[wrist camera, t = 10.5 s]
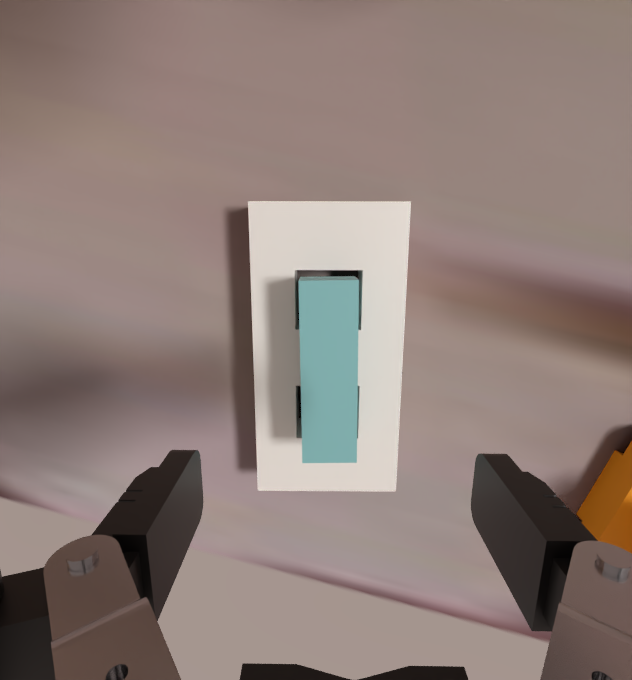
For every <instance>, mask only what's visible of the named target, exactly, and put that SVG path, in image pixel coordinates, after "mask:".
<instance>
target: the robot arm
mask: <svg viewBox="0 0 632 680" xmlns="http://www.w3.org/2000/svg"><path fill="white" fill-rule="evenodd" d="M202 509H203V488H202V474H201V460H200V454H199V451H198V450H171V451H170V452H169V453H168V455H167V456H166V458H165V459H164V461H163V462H162V463H161V465H160V466H159V467H151V468H149V469H148V470H146V471H145V472H143V473H142V474H140V475H139V476H137V477H136V478H135V479H134V480H133V482H132V483H131V484H130V486H129V487H128V488H127V489H126V492H124V493H123V495H122V496H121V497H120V499H119V501H118V502H117V503H116V504H115V505H114V506H113V508H112V509H111V510H110V512H109V513H108V514H107V516H106V517H105V518H104V519H103V521H102V522H101V523H100V525H99V526H98V527H97V529H96V530H95V531H94V533H93V534H92V535H91V536H87V537H83V538H80V539H77V540H75V541H72V542H70V543H68V544H66V545H65V546H63V547H62V548H60V549H59V550H57V551H56V552H55V553H54V554H53V555H52V556H51V557H50V558H49V559H48V561H47V563H46V564H45V567H44V568H40V569H36V570H31V571H27V572H22V573H18V574H13V575H8V576H4V577H2V576H1V571H0V680H181V678H180V676H179V673H178V671H177V668H176V666H175V664H174V661H173V659H172V656H171V654H170V652H169V649H168V647H167V644H166V642H165V639H164V637H163V634H162V632H161V629H160V627H159V624H158V622H157V621H158V618H159V616H160V613H161V611H162V609H163V606H164V604H165V602H166V600H167V597H168V595H169V592H170V590H171V588H172V585H173V583H174V581H175V578H176V576H177V574H178V571H179V569H180V567H181V564H182V562H183V559H184V557H185V555H186V552H187V550H188V548H189V545H190V543H191V541H192V538H193V536H194V534H195V531H196V529H197V527H198V524H199V522H200V519H201V515H202ZM471 511H472V517H473V521H474V523H475V526H476V528H477V529H478V531H479V533H480V535H481V537H482V539H483V541H484V543H485V544H486V546H487V548H488V550H489V552H490V554H491V556H492V558H493V559H494V561H495V563H496V565H497V567H498V569H499V571H500V572H501V574H502V576H503V578H504V580H505V582H506V584H507V586H508V587H509V589H510V591H511V593H512V595H513V597H514V599H515V600H516V602H517V604H518V606H519V608H520V610H521V612H522V614H523V615H524V617H525V619H526V621H527V623H528V625H529V627H530V628H531V630H532V631H552V634H551V638H550V642H549V647H548V651H547V655H546V659H545V663H544V667H543V671H542V675H541V680H632V554H631V553H630V552H628V551H626V550H624V549H622V548H620V547H617V546H615V545H612V544H609V543H605V542H600V541H598V540H597V539H596V538H595V537H594V536H593V535H592V534H591V533H590V532H589V531H588V529H587V528H586V527H585V526H584V525H583V524H582V523H581V522H580V521H579V520H578V518H577V517H576V516H575V515H574V514H573V513H572V512H571V511H570V510H569V509H568V508H566V505H565V504H564V503H563V502H562V501H561V500H560V499H559V498H557V497H556V494H555V493H554V492H553V491H552V490H551V489H550V488H549V487H548V486H547V484H546V483H545V482H543V481H541V480H540V479H538V478H537V477H535V476H533V475H532V474H530V473H529V472H522V471H521V470H520V468H519V467H518V466H517V465H516V464H515V463H514V461H513V460H512V459H511V458H510V457H509V456H508V455H507V454H478V456H477V458H476V462H475V470H474V479H473V489H472V498H471ZM240 680H350V679H346V678H342V677H339V676H335V675H332V674H328V673H325V672H322V671H318V670H314V669H311V668H308V667H304V666H301V665H297V664H243V665H242V670H241V676H240ZM359 680H468V677H467V675H466V671H465V668H464V667H445V666H443V667H442V666H408V667H404V668H400V669H396V670H393V671H389V672H385V673H382V674H378V675H374V676H371V677H367V678H363V679H359Z"/></svg>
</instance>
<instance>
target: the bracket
mask: <svg viewBox="0 0 632 680" xmlns="http://www.w3.org/2000/svg"><path fill="white" fill-rule="evenodd" d="M576 514H577V515H578V517H579V518H580V519H581V520H582V524H583V525H584V526H585V527H586V528H587V529H588V531H589V532H590V533H591V534H592V535H593V536H594V537H595V538H596V539H597V540H598V541H600V542H605V543H609V544H612V545H615V546H617V547H620V548H622V549H624V550H626V551H628V552H630V553H631V554H632V441H631V443H630V444H629V446H628V447H627V449H626V451H625V452H624V453H621V452H619V451H616V450H615V451H614V453H613V454H612V456H611V458H610V459H609V461H608V462H607V464H606V466H605V467H604V469H603V471H602V472H601V474H600V476H599V477H598V479H597V481H596V482H595V484H594V485H593V487H592V489H591V490H590V492H589V494H588V495H587V497H586V499H585V500H584V502H583V504H582V505H581V507H580V509H579V510H578V512H577V513H576Z"/></svg>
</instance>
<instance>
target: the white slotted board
mask: <svg viewBox="0 0 632 680" xmlns="http://www.w3.org/2000/svg"><path fill="white" fill-rule="evenodd" d="M410 210H411V202H341V201H248V215H249V245H250V274H251V303H252V333H253V362H254V391H255V421H256V450H257V479H258V491H396V478H397V458H398V439H399V420H400V401H401V382H402V363H403V344H404V324H405V305H406V286H407V267H408V248H409V229H410ZM297 270H358V280H359V322H358V405H357V463H302V424H301V418H299V402H298V386H301V377H300V330H299V320H298V280H297Z"/></svg>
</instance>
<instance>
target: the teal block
mask: <svg viewBox="0 0 632 680" xmlns="http://www.w3.org/2000/svg"><path fill="white" fill-rule="evenodd" d="M298 283H299V330H300V377H301V424H302V463H357V405H358V322H359V280H358V279H357V278H356V277H355V276H326V277H300V279H299V281H298Z"/></svg>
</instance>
